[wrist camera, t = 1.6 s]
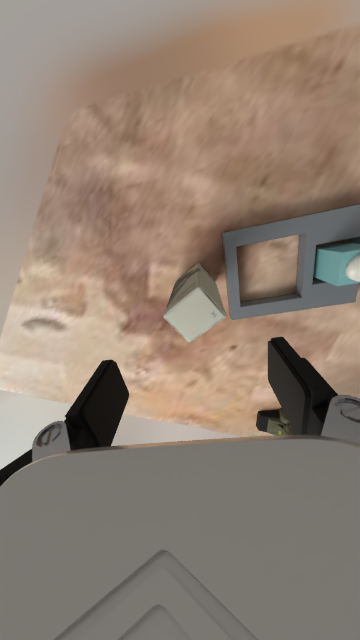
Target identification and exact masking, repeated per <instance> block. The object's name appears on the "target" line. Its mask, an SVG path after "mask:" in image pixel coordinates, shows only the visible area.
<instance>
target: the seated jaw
mask: <svg viewBox="0 0 360 640" xmlns="http://www.w3.org/2000/svg"><path fill="white" fill-rule="evenodd" d="M313 277H315V278H317V279H320V280H323V281H325V282H328V283H330V284H333V285H335V286H342V285H349V284H355V283H360V244H356V243H344V242H343V243H338V244H333V245H327V246H322V247H317V248H316V251H315V261H314V271H313Z"/></svg>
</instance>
